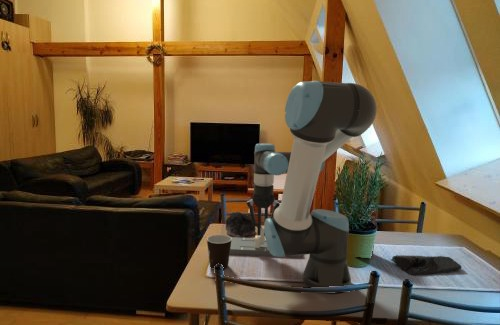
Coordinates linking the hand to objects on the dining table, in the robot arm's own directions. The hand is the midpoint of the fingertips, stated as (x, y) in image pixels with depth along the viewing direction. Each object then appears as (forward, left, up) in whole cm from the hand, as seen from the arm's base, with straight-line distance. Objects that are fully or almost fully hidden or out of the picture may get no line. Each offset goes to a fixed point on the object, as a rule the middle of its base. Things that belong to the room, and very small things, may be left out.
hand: (262, 243), depth 136 cm
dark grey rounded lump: (+22, +10, -4) cm, 24 cm away
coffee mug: (-13, +15, -4) cm, 20 cm away
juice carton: (+1, -39, -4) cm, 40 cm away
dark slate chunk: (-6, -60, -4) cm, 61 cm away
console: (+3, -1, -4) cm, 5 cm away
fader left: (0, +2, -1) cm, 2 cm away
